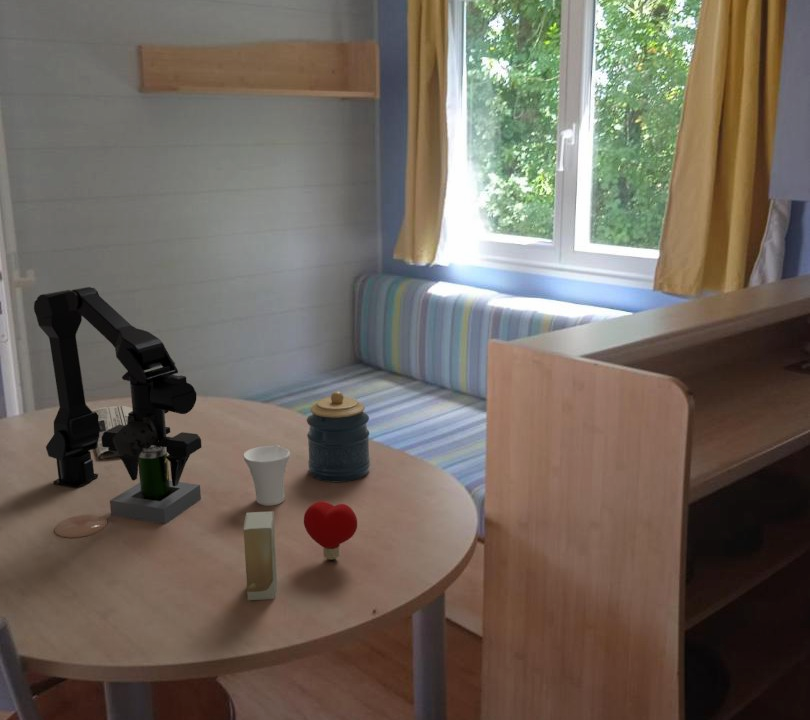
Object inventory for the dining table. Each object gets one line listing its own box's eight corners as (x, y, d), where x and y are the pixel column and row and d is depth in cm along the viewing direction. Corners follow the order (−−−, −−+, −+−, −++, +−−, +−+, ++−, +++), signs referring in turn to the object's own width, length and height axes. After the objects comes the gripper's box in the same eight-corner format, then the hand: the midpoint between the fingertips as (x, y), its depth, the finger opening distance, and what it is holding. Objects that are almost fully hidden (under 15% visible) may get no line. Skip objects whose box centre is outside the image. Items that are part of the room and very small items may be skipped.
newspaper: (85, 418, 227) (83, 405, 226) (135, 411, 232) (134, 398, 231) (99, 463, 196) (97, 448, 195) (157, 455, 200) (156, 440, 200)
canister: (319, 487, 180) (316, 404, 176) (301, 466, 192) (297, 387, 187) (379, 477, 185) (377, 395, 181) (357, 456, 197) (355, 380, 192)
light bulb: (365, 554, 152) (363, 499, 149) (349, 573, 145) (347, 516, 143) (315, 546, 154) (313, 493, 152) (297, 565, 148) (295, 509, 146)
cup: (301, 494, 177) (299, 447, 174) (275, 512, 168) (273, 463, 166) (263, 487, 180) (261, 441, 178) (236, 505, 172) (233, 456, 170)
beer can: (147, 515, 168) (142, 455, 165) (138, 505, 172) (133, 447, 169) (175, 508, 171) (170, 449, 168) (165, 499, 175) (161, 441, 172)
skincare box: (250, 581, 143) (246, 511, 140) (277, 580, 143) (274, 509, 140) (246, 602, 137) (242, 528, 134) (275, 600, 137) (271, 527, 134)
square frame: (111, 515, 168) (109, 500, 167) (149, 491, 179) (148, 477, 178) (165, 523, 164) (163, 508, 163) (200, 499, 175) (199, 484, 174)
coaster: (44, 533, 161) (43, 531, 161) (77, 513, 169) (77, 511, 169) (85, 540, 158) (84, 538, 158) (117, 520, 166) (117, 518, 166)
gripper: (78, 412, 162) (86, 492, 166) (165, 422, 156) (172, 505, 160) (116, 395, 172) (124, 471, 176) (200, 404, 166) (205, 482, 170)
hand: (154, 482), depth 170 cm, fingers open, 9 cm apart
